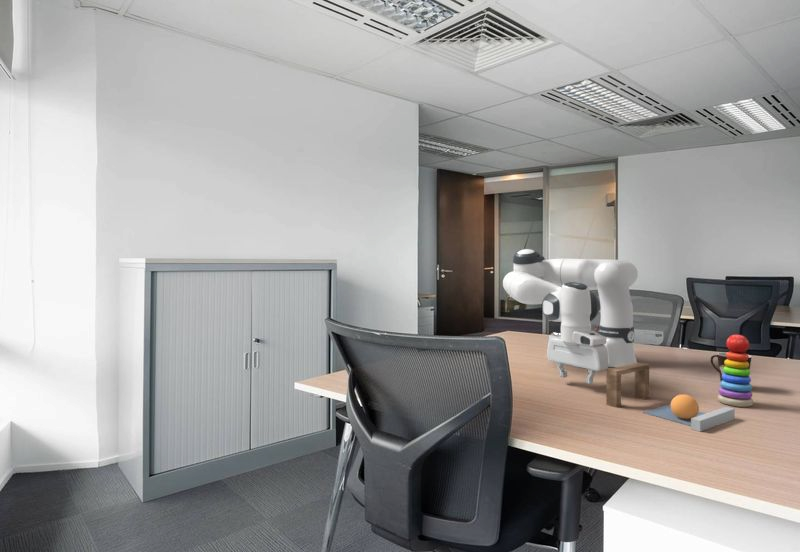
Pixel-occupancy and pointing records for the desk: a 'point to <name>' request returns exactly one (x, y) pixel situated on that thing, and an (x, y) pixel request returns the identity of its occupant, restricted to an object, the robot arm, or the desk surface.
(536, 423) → the desk surface
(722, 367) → the coffee mug
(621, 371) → the bridge
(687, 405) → the ball
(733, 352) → the stacking toy
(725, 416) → the stopper wall
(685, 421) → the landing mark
